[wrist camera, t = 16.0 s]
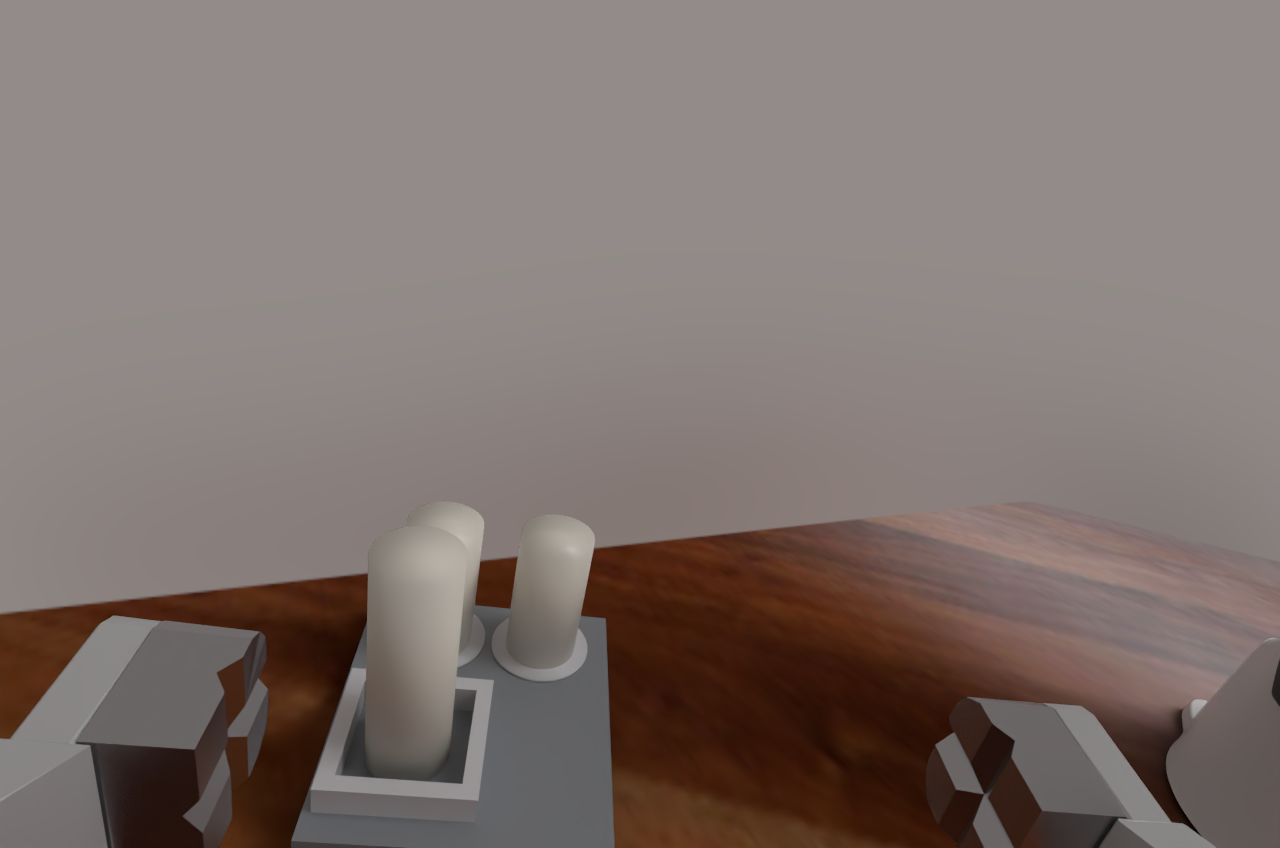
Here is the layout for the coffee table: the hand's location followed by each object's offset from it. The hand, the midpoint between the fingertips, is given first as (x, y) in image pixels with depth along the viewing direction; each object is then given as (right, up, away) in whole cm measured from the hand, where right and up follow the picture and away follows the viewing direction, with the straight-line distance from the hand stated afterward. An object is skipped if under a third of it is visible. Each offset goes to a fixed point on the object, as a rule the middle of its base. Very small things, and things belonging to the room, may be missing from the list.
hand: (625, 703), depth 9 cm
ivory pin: (-11, -13, +30) cm, 34 cm away
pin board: (-9, -13, +34) cm, 37 cm away
